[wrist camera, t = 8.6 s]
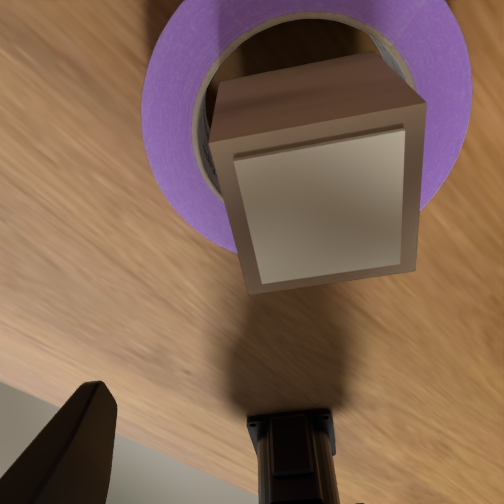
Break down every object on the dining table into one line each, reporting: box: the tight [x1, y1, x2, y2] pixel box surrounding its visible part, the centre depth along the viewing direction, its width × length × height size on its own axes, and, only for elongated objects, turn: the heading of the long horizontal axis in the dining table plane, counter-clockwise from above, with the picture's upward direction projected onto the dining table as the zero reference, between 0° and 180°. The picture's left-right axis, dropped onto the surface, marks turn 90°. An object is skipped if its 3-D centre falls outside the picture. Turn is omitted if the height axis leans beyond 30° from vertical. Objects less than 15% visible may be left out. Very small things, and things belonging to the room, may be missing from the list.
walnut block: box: [208, 51, 427, 295], centre depth 13 cm, size 5×5×5 cm
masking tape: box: [141, 0, 473, 254], centre depth 17 cm, size 12×12×4 cm
